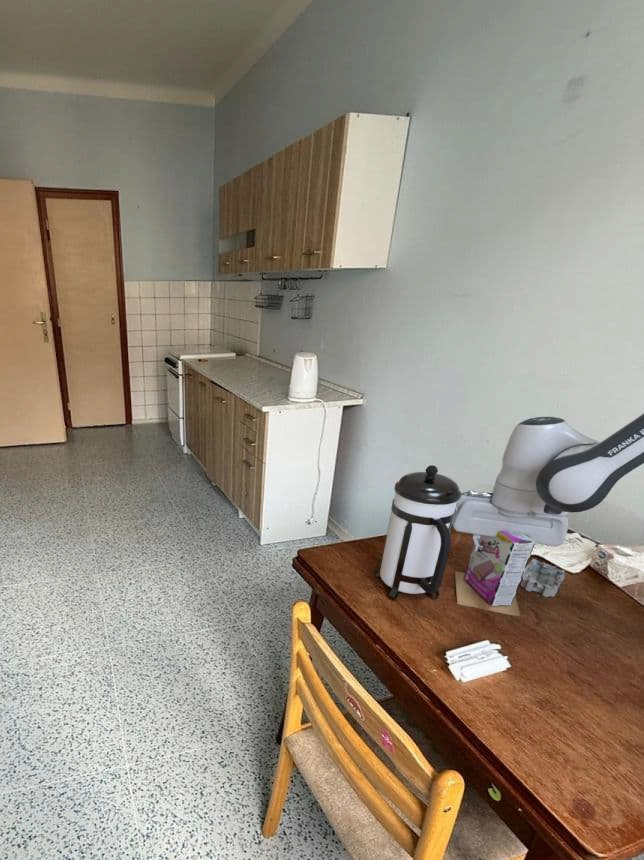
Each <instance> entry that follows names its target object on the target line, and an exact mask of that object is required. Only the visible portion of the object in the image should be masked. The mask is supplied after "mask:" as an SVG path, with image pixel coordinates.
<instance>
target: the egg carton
mask: <svg viewBox="0 0 644 860" xmlns="http://www.w3.org/2000/svg"><path fill="white" fill-rule="evenodd" d="M565 574H566V571H565V569H558V568H557V566H556V565H555V566H552V565H551V564H548V563H546V562H544V561H542V562H541V561H540V560H538V559H536V558H532V559H531V561H529V562H528V563H527V565H526V568H525V571H524V573H523V576H522V579H521V581H520V587H522V588H523V589H524V590H525V591H527V592H537V593H539V594H541V596H542V597H545V598H549V597H555V596H556V594H557V593H558V590H559V588H560V586H561V583H563V581H564V580H565V578H566V577H565Z"/></svg>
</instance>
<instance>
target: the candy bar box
mask: <svg viewBox="0 0 644 860" xmlns="http://www.w3.org/2000/svg"><path fill="white" fill-rule="evenodd" d="M478 541H479V542H480V543H483V546H484V547H483V549H482V553H480V552H474V545H475V543H473V546H472V550H471V552H470V553H471V554H470V556H469V559H468V563H467V566H466V569H465V571H464V573H465V575H464V578H463V579H464V580H465V581H466V582H467V583H468V584H469V585H470V586H471V587H472V588H473V589H474V590H475V591H476V592H477V593H478V594H479V595H480V596H481V597H482V598H483V599H484V600H486V602H487V603H489V604H490V605H491V606H511V605H512V602H513V599H514V597H515V596H516V594H517V592H518V588H519V586H520V585H521V582H522V580H523V573H524V571H525V568H526V566H527V565H528V564H529V560H530V557H531V555H532V552H533V550H534V548H535V546H536V543H535V542H536V541H534V540H533V539H531V538H530V537H528V536H527V535H524V534H519V533H513V532H506V531H498V533H497V535H496V537H491V536H484V535H481V537H480V539H478ZM534 545H535V546H534ZM533 547H534V548H533Z"/></svg>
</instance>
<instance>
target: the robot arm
mask: <svg viewBox="0 0 644 860" xmlns="http://www.w3.org/2000/svg"><path fill="white" fill-rule="evenodd" d="M501 461H502V462H501V463H502V464H501V469H500V471H499V473H498V475H497V476H496V478H495V482H494V485H493V488H492V492H488V491H487V492H485V491H475V490H467V491H464V492H461V498H460V500H459V501H458V502H457V504H456V513H455V516H454V519H453V522H452V528H453V529H454V531H456V532H459V533H466V534H470V535H471V536H472V540H473V542H474V543H475V545H474V543H473V547H474V552H480V553H482V549H483V547H484V546H483V543H480V542H479V541H478V539H480V537H481V535H484V536H491V537H496V535H497V533H498V531H506V532H513V533H519V534H524V535H527V536H528V537H530V538H531V539H533V540H534V541H536V542H535V545H534V547H533V549H534V548H535V547H536V545H543V546H549V547H556V548H557V547H559V546H561V545H562V544H564V543H565V540H566V538H567V534H568V531H569V530H568V529H569V519H568V517H567V515H569V513H582V512H586V511H589V510H591V509H593V508H595V507H596V506H597V507H598V505H600V504H601V503H602V502H603V501H604V500H605V499H606V498H607V496H608V494H609V493H610V492H611V490H613V488H614V487H615V485H616V484H617V483H618V482H619V481H620V480H621V479H622V478H623V477H625V476H626V475H627V474H629V473H631V472H633V470H635V469H637V468H638V467H640V466H642V465H643V464H644V412H643V413H642V414H640V415H639V416H637V417H636V418H634V419H633V420H631V421H630V422H628V423H627V424H625V425H624V426H622V427H621V428H620V429H618V430H616V431H615V432H614V433H612V434H610V435H608V437H606V438H605V439H603V440H602V441H599V440H596V439H593V438H592V437H588V436H587V435H585V434H583V433H581V432H580V431H577V430H576V429H574V428H573V427H572V426H571V425H570V424H569V423H568V422H567V420H565V419H564V418H561V417H555V416H537V417H529V418H527V419H525V420H523V421H520V422H519V423H518V424H516V426H515V427H514V428H513V430H512V431H511V434H510V436H509V438H508V439H507V443H506V446H505V449H504V452H503V455H502V458H501Z"/></svg>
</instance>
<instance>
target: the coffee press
mask: <svg viewBox="0 0 644 860" xmlns="http://www.w3.org/2000/svg"><path fill="white" fill-rule="evenodd" d="M437 467H438V466H436V465H428V466H427V467H426V468H425V471H415V472H414V471H413V472H410V473H407V474H405V475H403V476H401V478H400V479H398V481H397V482H396V483H395V484H394V492H395V493H394V498H393V499H392V503H391V507H390V508H391V509H390V510H391V513H390V517H389V521H388V526H387V527H388V528H387V532H386V537H385V541H384V542H385V543H384V547H383V553H382V556H381V557H382V558H381V562H380V566H379V568H378V569H377V570H375V571H374V573H373V575H374V576H375V577H376V578H380V579H381V580H382V582H383V583H384V584H385V585H386V586H387V587H389V588H391V590H390V593H389V594H388V599H390V600H394V601H396V600H397V598H398V596H399V594H400V592H401V593H404V594H411V595H419V594H424V593H425V594H427V595H428V596H429V598H430V599H432V600H437V599H438V598H439V596H440V592H439V589H440V587H441V585H442V581H443V578H444V576H445V575H444V574H445V571H446V568H447V567H446V566H447V563H448V560H449V555H450V550H451V542H452V541H451V530H452V528H453V519H454V516H455V513H456V511H457V505H456V504H457V502H458V501H459V500H460V498H461V494H462V492H461V490H460V487H459V485H458V483H457V481H456V480H454V479H453V478H451V477H449V476H446V475H444V474H440V473H439V469H438V468H437Z"/></svg>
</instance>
